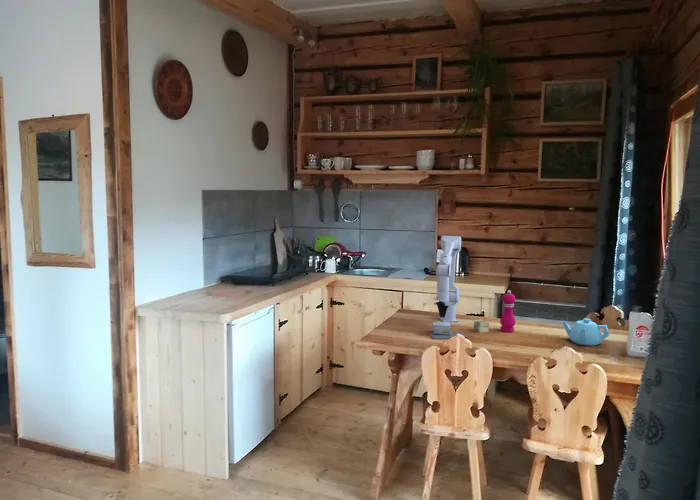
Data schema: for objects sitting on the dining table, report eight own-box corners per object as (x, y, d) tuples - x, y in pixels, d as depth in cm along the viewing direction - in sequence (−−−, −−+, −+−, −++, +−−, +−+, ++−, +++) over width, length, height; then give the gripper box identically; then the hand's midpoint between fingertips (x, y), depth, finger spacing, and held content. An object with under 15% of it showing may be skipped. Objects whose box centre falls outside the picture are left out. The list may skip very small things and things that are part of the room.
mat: (427, 333, 260) (427, 332, 260) (459, 332, 263) (459, 331, 263) (433, 339, 250) (433, 338, 250) (467, 338, 253) (467, 337, 253)
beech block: (473, 330, 266) (473, 320, 266) (482, 329, 268) (482, 319, 268) (479, 333, 262) (480, 322, 261) (488, 331, 264) (488, 321, 263)
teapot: (580, 348, 239) (582, 324, 238) (559, 338, 254) (561, 315, 252) (610, 346, 243) (612, 322, 241) (588, 336, 257) (590, 314, 256)
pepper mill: (498, 331, 264) (500, 290, 262) (500, 328, 271) (502, 288, 268) (514, 333, 261) (516, 292, 259) (515, 329, 268) (517, 289, 266)
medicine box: (449, 321, 263) (450, 326, 255) (449, 330, 264) (450, 335, 255) (432, 321, 264) (433, 325, 255) (432, 330, 265) (433, 334, 256)
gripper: (430, 286, 269) (429, 313, 270) (439, 292, 254) (438, 321, 256) (444, 286, 270) (443, 313, 271) (454, 292, 256) (453, 320, 257)
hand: (442, 317), depth 264 cm, fingers closed
